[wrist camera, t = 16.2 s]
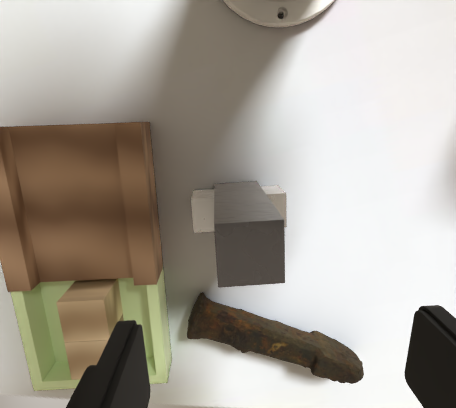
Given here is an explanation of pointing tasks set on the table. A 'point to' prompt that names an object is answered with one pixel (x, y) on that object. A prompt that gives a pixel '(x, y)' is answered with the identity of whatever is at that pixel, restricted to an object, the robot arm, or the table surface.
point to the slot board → (78, 204)
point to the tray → (53, 337)
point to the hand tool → (274, 340)
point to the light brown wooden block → (84, 355)
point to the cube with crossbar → (244, 231)
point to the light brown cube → (90, 310)
